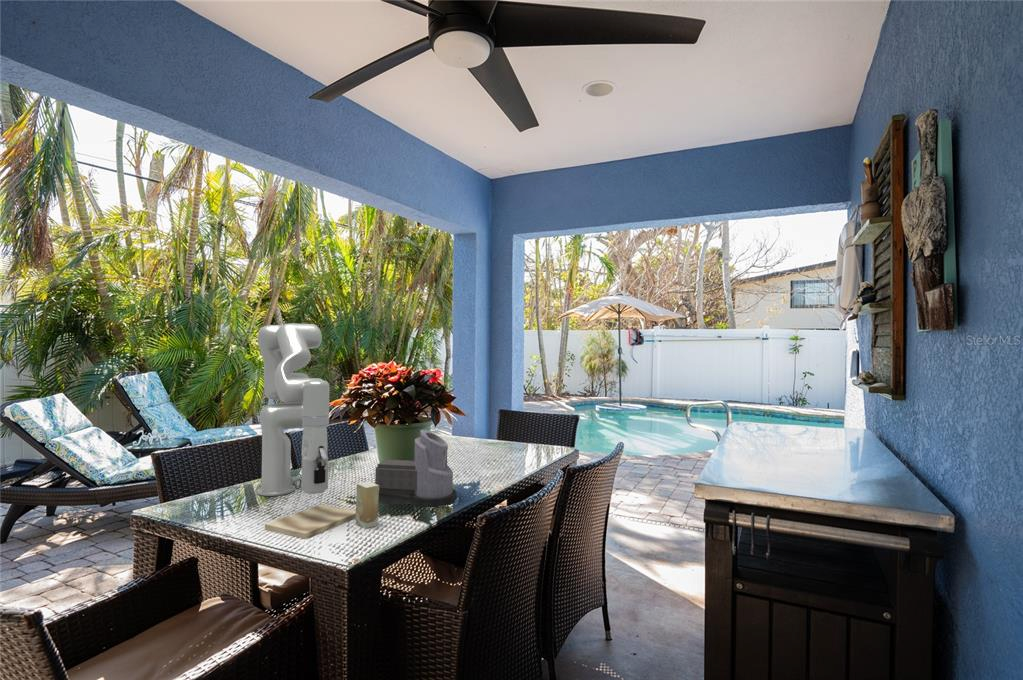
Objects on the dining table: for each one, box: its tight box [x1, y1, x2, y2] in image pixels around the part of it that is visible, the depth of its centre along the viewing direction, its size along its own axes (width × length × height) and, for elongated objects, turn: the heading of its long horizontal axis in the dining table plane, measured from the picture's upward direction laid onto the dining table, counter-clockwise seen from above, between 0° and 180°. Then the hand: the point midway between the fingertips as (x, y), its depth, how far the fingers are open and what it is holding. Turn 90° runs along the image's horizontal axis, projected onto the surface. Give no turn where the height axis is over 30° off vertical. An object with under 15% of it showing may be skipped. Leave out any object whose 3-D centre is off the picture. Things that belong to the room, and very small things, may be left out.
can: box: [300, 453, 329, 495], centre depth 163 cm, size 8×8×12 cm
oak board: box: [264, 503, 356, 540], centre depth 163 cm, size 22×16×2 cm
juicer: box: [374, 429, 458, 508], centre depth 188 cm, size 30×16×24 cm, turn 82°
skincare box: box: [355, 480, 379, 529], centre depth 162 cm, size 6×4×12 cm
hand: (314, 479), depth 163 cm, fingers closed on can, 7 cm apart
